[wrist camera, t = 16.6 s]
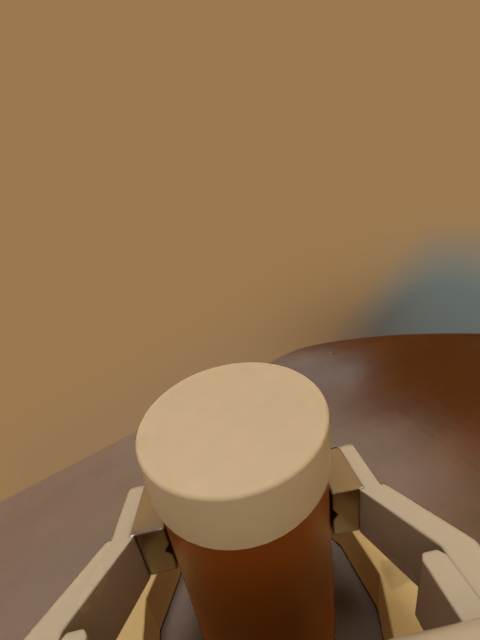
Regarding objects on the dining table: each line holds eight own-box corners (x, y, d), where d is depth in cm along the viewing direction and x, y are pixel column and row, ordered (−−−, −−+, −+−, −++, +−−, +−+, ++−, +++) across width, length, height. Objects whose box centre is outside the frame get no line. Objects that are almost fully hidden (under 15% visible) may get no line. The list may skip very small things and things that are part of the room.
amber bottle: (173, 618, 9) (99, 430, 7) (253, 503, 13) (226, 352, 10) (296, 797, 6) (247, 571, 3) (356, 576, 10) (356, 382, 7)
